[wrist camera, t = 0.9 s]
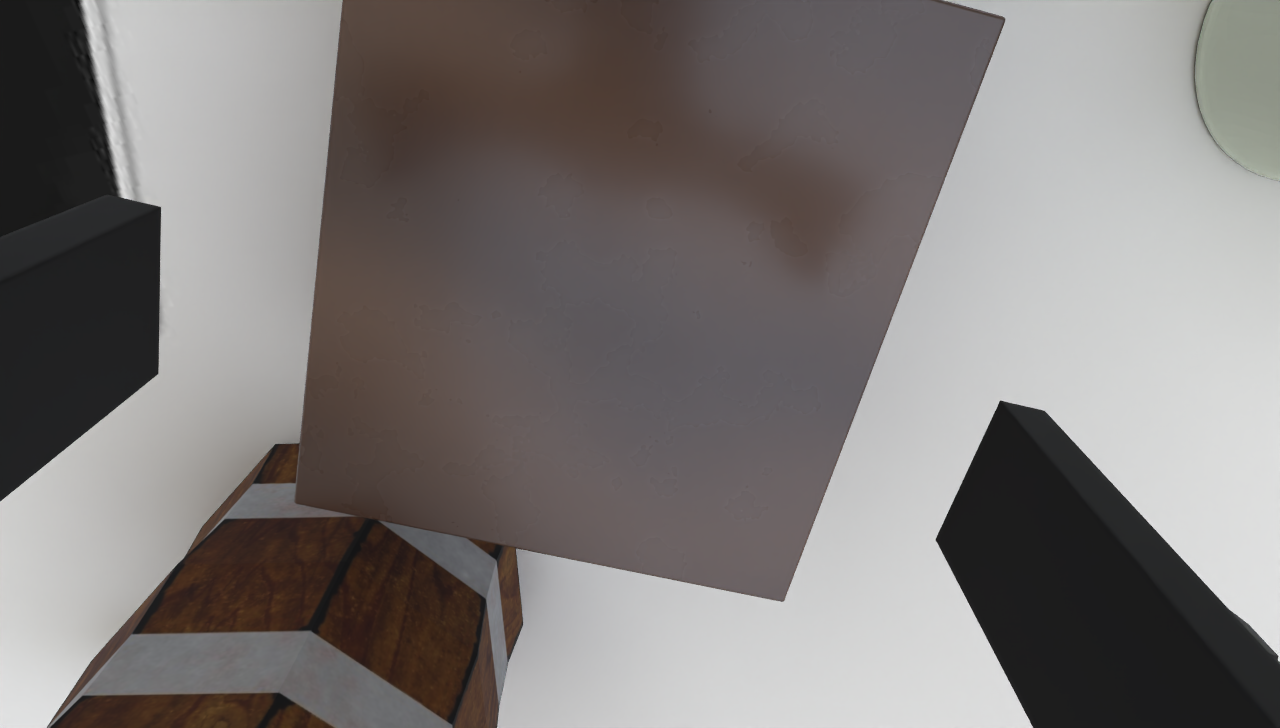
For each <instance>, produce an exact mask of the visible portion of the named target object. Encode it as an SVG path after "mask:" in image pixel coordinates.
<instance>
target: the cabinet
mask: <svg viewBox="0 0 1280 728" xmlns="http://www.w3.org/2000/svg"><path fill="white" fill-rule="evenodd" d="M1004 23H1005V18H1004V17H1003V16H999V15H995V14H992V13H988V12H984V11H981V10H977V9H973V8H970V7H966V6H962V5H959V4H955V3H951V2H948V1H944V0H343V1H342V12H341V22H340V32H339V43H338V53H337V63H336V74H335V84H334V94H333V105H332V115H331V125H330V136H329V146H328V156H327V167H326V177H325V188H324V198H323V208H322V219H321V229H320V239H319V250H318V260H317V270H316V281H315V291H314V301H313V312H312V322H311V332H310V343H309V353H308V363H307V374H306V384H305V394H304V405H303V415H302V425H301V436H300V446H299V456H298V467H297V477H296V487H295V498H294V502H295V503H296V504H299V505H304V506H309V507H314V508H319V509H324V510H329V511H334V512H339V513H344V514H349V515H354V516H359V517H364V518H369V519H374V520H379V521H384V522H389V523H394V524H399V525H403V526H408V527H413V528H418V529H423V530H428V531H433V532H438V533H443V534H448V535H453V536H458V537H463V538H468V539H473V540H478V541H483V542H488V543H493V544H498V545H503V546H508V547H513V548H518V549H523V550H528V551H533V552H538V553H543V554H547V555H552V556H557V557H562V558H567V559H572V560H577V561H582V562H587V563H592V564H597V565H602V566H607V567H612V568H617V569H622V570H627V571H632V572H637V573H642V574H647V575H652V576H657V577H662V578H667V579H672V580H677V581H682V582H687V583H691V584H696V585H701V586H706V587H711V588H716V589H721V590H726V591H731V592H736V593H741V594H746V595H751V596H756V597H761V598H766V599H771V600H776V601H781V602H783V601H784V600H785V597H786V594H787V592H788V589H789V586H790V584H791V581H792V579H793V576H794V573H795V571H796V568H797V565H798V563H799V560H800V558H801V555H802V552H803V550H804V547H805V544H806V542H807V539H808V537H809V534H810V531H811V529H812V526H813V524H814V521H815V518H816V516H817V513H818V510H819V508H820V505H821V503H822V500H823V497H824V495H825V492H826V489H827V487H828V484H829V482H830V479H831V476H832V474H833V471H834V468H835V466H836V463H837V461H838V458H839V455H840V453H841V450H842V447H843V445H844V442H845V440H846V437H847V434H848V432H849V429H850V427H851V424H852V421H853V419H854V416H855V413H856V411H857V408H858V406H859V403H860V400H861V398H862V395H863V392H864V390H865V387H866V385H867V382H868V379H869V377H870V374H871V371H872V369H873V366H874V364H875V361H876V358H877V356H878V353H879V350H880V348H881V345H882V343H883V340H884V337H885V335H886V332H887V330H888V327H889V324H890V322H891V319H892V316H893V314H894V311H895V309H896V306H897V303H898V301H899V298H900V295H901V293H902V290H903V288H904V285H905V282H906V280H907V277H908V274H909V272H910V269H911V267H912V264H913V261H914V259H915V256H916V253H917V251H918V248H919V246H920V243H921V240H922V238H923V235H924V233H925V230H926V227H927V225H928V222H929V219H930V217H931V214H932V212H933V209H934V206H935V204H936V201H937V198H938V196H939V193H940V191H941V188H942V185H943V183H944V180H945V177H946V175H947V172H948V170H949V167H950V164H951V162H952V159H953V156H954V154H955V151H956V149H957V146H958V143H959V141H960V138H961V136H962V133H963V130H964V128H965V125H966V122H967V120H968V117H969V115H970V112H971V109H972V107H973V104H974V101H975V99H976V96H977V94H978V91H979V88H980V86H981V83H982V80H983V78H984V75H985V73H986V70H987V67H988V65H989V62H990V59H991V57H992V54H993V52H994V49H995V46H996V44H997V41H998V38H999V36H1000V33H1001V31H1002V28H1003V25H1004Z"/></svg>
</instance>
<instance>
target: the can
mask: <svg viewBox="0 0 1280 728" xmlns="http://www.w3.org/2000/svg"><path fill="white" fill-rule="evenodd" d="M1195 84H1196V93H1197V99H1198V103H1199V107H1200V111H1201V114H1202V116H1203V119H1204V122H1205V124H1206V126H1207V128H1208V130H1209V132H1210V134H1211V135H1212V137H1213V138H1214V140H1215V141H1216V142H1217V144H1218V145H1219V146H1220V148H1221V149H1222V150H1223V151H1224V152H1225V153H1226V154H1227V155H1228V156H1229V157H1230V158H1232V159H1233V160H1234V161H1236V162H1237V163H1238V164H1240V165H1241V166H1243V167H1244V168H1246V169H1248V170H1250V171H1252V172H1254V173H1256V174H1258V175H1260V176H1263V177H1266V178H1269V179H1273V180H1277V181H1280V0H1212V1H1211V3H1210V6H1209V8H1208V11H1207V13H1206V16H1205V19H1204V22H1203V26H1202V30H1201V33H1200V37H1199V41H1198V46H1197V54H1196V63H1195Z"/></svg>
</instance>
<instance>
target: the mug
mask: <svg viewBox="0 0 1280 728" xmlns="http://www.w3.org/2000/svg"><path fill="white" fill-rule="evenodd" d="M299 446H300V444H275V445H274V446H273V448H272V449H271V450H270V451H269V452H268V453H267V454H266V455H265V457H264V458H263V459H262V460H261V461H260V462H259V463H258V464H257V466H256V467H255V468H254V469H253V470H252V471H251V472H250V473H249V475H248V476H247V477H246V478H245V479H244V480H243V481H242V483H241V484H240V485H239V486H238V487H237V488H236V489H235V490H234V492H233V493H232V494H231V495H230V496H229V497H228V498H227V499H226V501H225V502H224V503H223V504H222V505H221V506H220V507H219V508H218V510H217V511H216V512H215V513H214V514H213V515H212V516H211V517H210V519H209V520H208V521H207V522H206V523H205V524H204V525H203V526H202V528H201V530H200V532H199V533H198V535H197V537H196V538H195V540H194V542H193V544H192V545H191V547H190V549H189V550H188V552H187V554H186V556H185V557H184V559H183V560H182V561H181V562H180V563H178V564H177V566H176V567H175V568H174V569H173V570H172V571H171V572H170V573H169V574H168V576H167V577H166V578H165V579H164V580H163V581H162V582H161V583H160V585H159V586H158V587H157V588H156V589H155V590H154V591H153V592H152V594H151V595H150V596H149V597H148V598H147V599H146V600H145V601H144V603H143V604H142V605H141V606H140V607H139V608H138V609H137V610H136V611H135V613H134V614H133V615H132V616H131V617H130V618H129V619H128V620H127V622H126V623H125V624H124V625H123V626H122V627H121V628H120V629H119V631H118V632H117V633H116V634H115V635H114V636H113V637H112V638H111V640H110V641H109V642H108V643H107V644H106V645H105V646H104V647H103V648H102V650H101V651H100V652H99V653H98V654H97V655H96V656H95V657H94V659H93V660H92V661H91V662H90V664H89V665H88V667H87V668H86V670H85V671H84V673H83V674H82V676H81V677H80V679H79V680H78V682H77V683H76V685H75V686H74V688H73V689H72V691H71V692H70V694H69V695H68V697H67V698H66V700H65V701H64V703H63V704H62V706H61V707H60V708H59V710H58V711H57V713H56V714H55V716H54V717H53V719H52V720H51V722H50V723H49V725H48V726H47V728H497V722H498V712H499V704H500V700H501V695H502V690H503V685H504V680H505V675H506V670H507V665H508V662H509V659H510V657H511V654H512V652H513V649H514V646H515V644H516V641H517V639H518V636H519V633H520V631H521V628H522V626H523V619H522V609H521V598H520V588H519V578H518V568H517V558H516V548H513V547H508V546H503V545H498V544H493V543H488V542H483V541H478V540H473V539H468V538H463V537H458V536H453V535H448V534H443V533H438V532H433V531H428V530H423V529H418V528H413V527H408V526H403V525H399V524H394V523H389V522H384V521H379V520H374V519H369V518H364V517H359V516H354V515H349V514H344V513H339V512H334V511H329V510H324V509H319V508H314V507H309V506H304V505H299V504H296V503H295V502H294V498H295V487H296V477H297V467H298V456H299Z"/></svg>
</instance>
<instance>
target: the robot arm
mask: <svg viewBox="0 0 1280 728" xmlns="http://www.w3.org/2000/svg"><path fill="white" fill-rule="evenodd" d="M160 235H161V207H158V206H154V205H150V204H145V203H141V202H137V201H132V200H128V199H124V198H119V197H115V196H111V195H105V196H102V197H100V198H97V199H95V200H92V201H90V202H87V203H85V204H82V205H80V206H77V207H75V208H72V209H70V210H67V211H65V212H62V213H60V214H57V215H54V216H52V217H49V218H47V219H44V220H42V221H39V222H37V223H34V224H32V225H29V226H27V227H24V228H22V229H19V230H17V231H14V232H12V233H9V234H7V235H4V236H2V237H0V501H1V500H2V499H4V498H5V497H6V496H7V495H9V494H10V493H11V492H12V491H14V490H15V489H16V488H17V487H19V486H20V485H21V484H22V483H24V482H25V481H26V480H27V479H28V478H30V477H31V476H32V475H33V474H35V473H36V472H37V471H38V470H40V469H41V468H42V467H43V466H45V465H46V464H47V463H48V462H50V461H51V460H52V459H53V458H55V457H56V456H57V455H58V454H59V453H61V452H62V451H63V450H64V449H66V448H67V447H68V446H69V445H71V444H72V443H73V442H74V441H76V440H77V439H78V438H79V437H81V436H82V435H83V434H84V433H86V432H87V431H88V430H89V429H90V428H92V427H93V426H94V425H95V424H97V423H98V422H99V421H100V420H102V419H103V418H104V417H105V416H107V415H108V414H109V413H110V412H112V411H113V410H114V409H115V408H116V407H118V406H119V405H120V404H121V403H123V402H124V401H125V400H126V399H128V398H129V397H130V396H131V395H133V394H134V393H135V392H136V391H138V390H139V389H140V388H141V387H143V386H144V385H145V384H146V383H147V382H149V381H150V380H151V379H152V378H154V377H155V376H156V375H157V374H158V364H159V299H160ZM936 541H937V543H938V545H939V547H940V549H941V551H942V553H943V555H944V557H945V558H946V560H947V562H948V564H949V566H950V568H951V570H952V572H953V574H954V576H955V578H956V580H957V582H958V583H959V585H960V587H961V589H962V591H963V593H964V595H965V597H966V599H967V601H968V603H969V605H970V607H971V609H972V610H973V612H974V614H975V616H976V618H977V620H978V622H979V624H980V626H981V628H982V630H983V632H984V634H985V635H986V637H987V639H988V641H989V643H990V645H991V647H992V649H993V651H994V653H995V655H996V657H997V659H998V661H999V662H1000V664H1001V666H1002V668H1003V670H1004V672H1005V674H1006V676H1007V678H1008V680H1009V682H1010V684H1011V686H1012V687H1013V689H1014V691H1015V693H1016V695H1017V697H1018V699H1019V701H1020V703H1021V705H1022V707H1023V709H1024V711H1025V713H1026V714H1027V716H1028V718H1029V720H1030V722H1031V724H1032V726H1033V728H1280V662H1279V661H1278V655H1277V654H1276V653H1275V652H1274V651H1273V650H1272V649H1271V648H1270V647H1269V646H1268V645H1267V644H1266V642H1265V641H1264V640H1263V639H1262V638H1261V637H1260V636H1259V635H1258V634H1257V633H1256V632H1255V631H1254V630H1253V629H1252V628H1251V626H1250V625H1249V624H1247V623H1246V622H1245V621H1243V620H1242V619H1241V618H1239V617H1238V616H1237V615H1236V614H1234V613H1233V612H1232V611H1230V610H1229V609H1228V608H1227V607H1226V606H1225V605H1224V604H1223V603H1222V602H1221V600H1220V599H1219V598H1218V597H1217V596H1216V595H1215V594H1214V593H1213V592H1212V591H1211V590H1210V589H1209V588H1208V586H1207V585H1206V584H1205V583H1204V582H1203V581H1202V580H1201V579H1200V578H1199V577H1198V576H1197V575H1196V574H1195V572H1194V571H1193V570H1192V569H1191V568H1190V567H1189V566H1188V565H1187V564H1186V563H1185V562H1184V561H1183V560H1182V558H1181V557H1180V556H1179V555H1178V554H1177V553H1176V552H1175V551H1174V550H1173V549H1172V548H1171V547H1170V546H1169V544H1168V543H1167V542H1166V541H1165V540H1164V539H1163V538H1162V537H1161V536H1160V535H1159V534H1158V533H1157V531H1156V530H1155V529H1154V528H1153V527H1152V526H1151V525H1150V524H1149V523H1148V522H1147V521H1146V520H1145V519H1144V517H1143V516H1142V515H1141V514H1140V513H1139V512H1138V511H1137V510H1136V509H1135V508H1134V507H1133V506H1132V505H1131V503H1130V502H1129V501H1128V500H1127V499H1126V498H1125V497H1124V496H1123V495H1122V494H1121V493H1120V492H1119V491H1118V489H1117V488H1116V487H1115V486H1114V485H1113V484H1112V483H1111V482H1110V481H1109V480H1108V479H1107V478H1106V477H1105V475H1104V474H1103V473H1102V472H1101V471H1100V470H1099V469H1098V468H1097V467H1096V466H1095V465H1094V464H1093V463H1092V461H1091V460H1090V459H1089V458H1088V457H1087V456H1086V455H1085V454H1084V453H1083V452H1082V451H1081V450H1080V448H1079V447H1078V446H1077V445H1076V444H1075V443H1074V442H1073V441H1072V440H1071V439H1070V438H1069V437H1068V436H1067V434H1066V433H1065V432H1064V431H1063V430H1062V429H1061V428H1060V427H1059V426H1058V425H1057V424H1056V423H1055V422H1054V420H1053V419H1052V418H1051V417H1050V416H1049V415H1048V414H1047V413H1046V412H1045V411H1043V410H1038V409H1034V408H1030V407H1025V406H1021V405H1017V404H1012V403H1008V402H1004V401H1000V402H999V404H998V407H997V409H996V411H995V413H994V415H993V417H992V420H991V422H990V424H989V426H988V428H987V430H986V432H985V435H984V437H983V439H982V441H981V443H980V445H979V447H978V450H977V452H976V454H975V456H974V458H973V460H972V462H971V465H970V467H969V469H968V471H967V473H966V475H965V477H964V480H963V482H962V484H961V486H960V488H959V490H958V493H957V495H956V497H955V499H954V501H953V503H952V505H951V508H950V510H949V512H948V514H947V516H946V518H945V520H944V523H943V525H942V527H941V529H940V531H939V533H938V535H937V538H936Z"/></svg>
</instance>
